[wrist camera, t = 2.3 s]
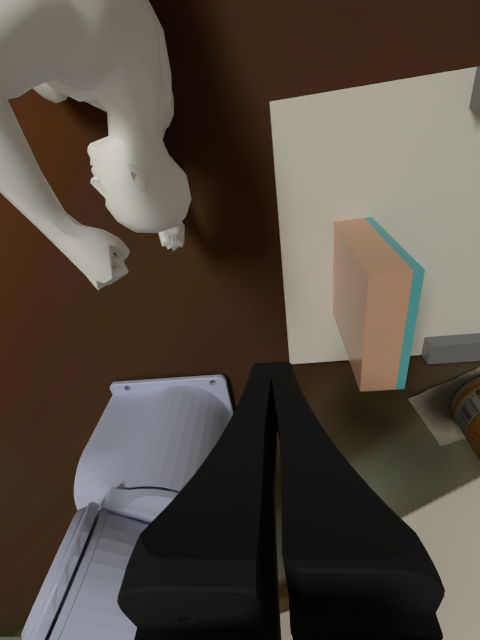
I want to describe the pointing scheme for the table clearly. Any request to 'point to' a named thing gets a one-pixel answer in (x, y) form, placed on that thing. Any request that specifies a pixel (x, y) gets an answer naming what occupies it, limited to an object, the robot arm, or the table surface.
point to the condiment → (453, 410)
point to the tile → (375, 302)
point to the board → (383, 203)
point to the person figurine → (123, 121)
